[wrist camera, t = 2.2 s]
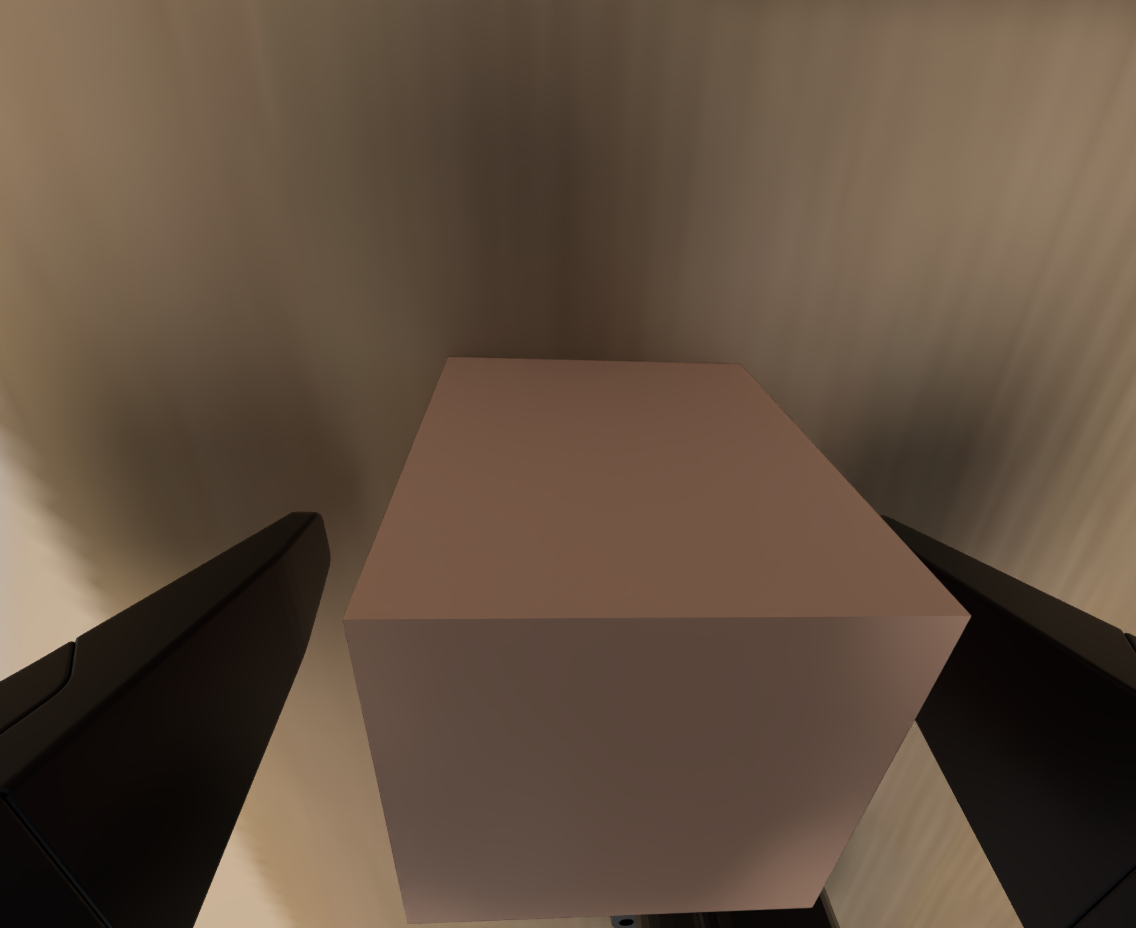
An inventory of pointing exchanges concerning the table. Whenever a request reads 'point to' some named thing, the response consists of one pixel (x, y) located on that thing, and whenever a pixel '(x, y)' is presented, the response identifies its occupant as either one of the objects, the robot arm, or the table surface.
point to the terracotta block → (630, 646)
